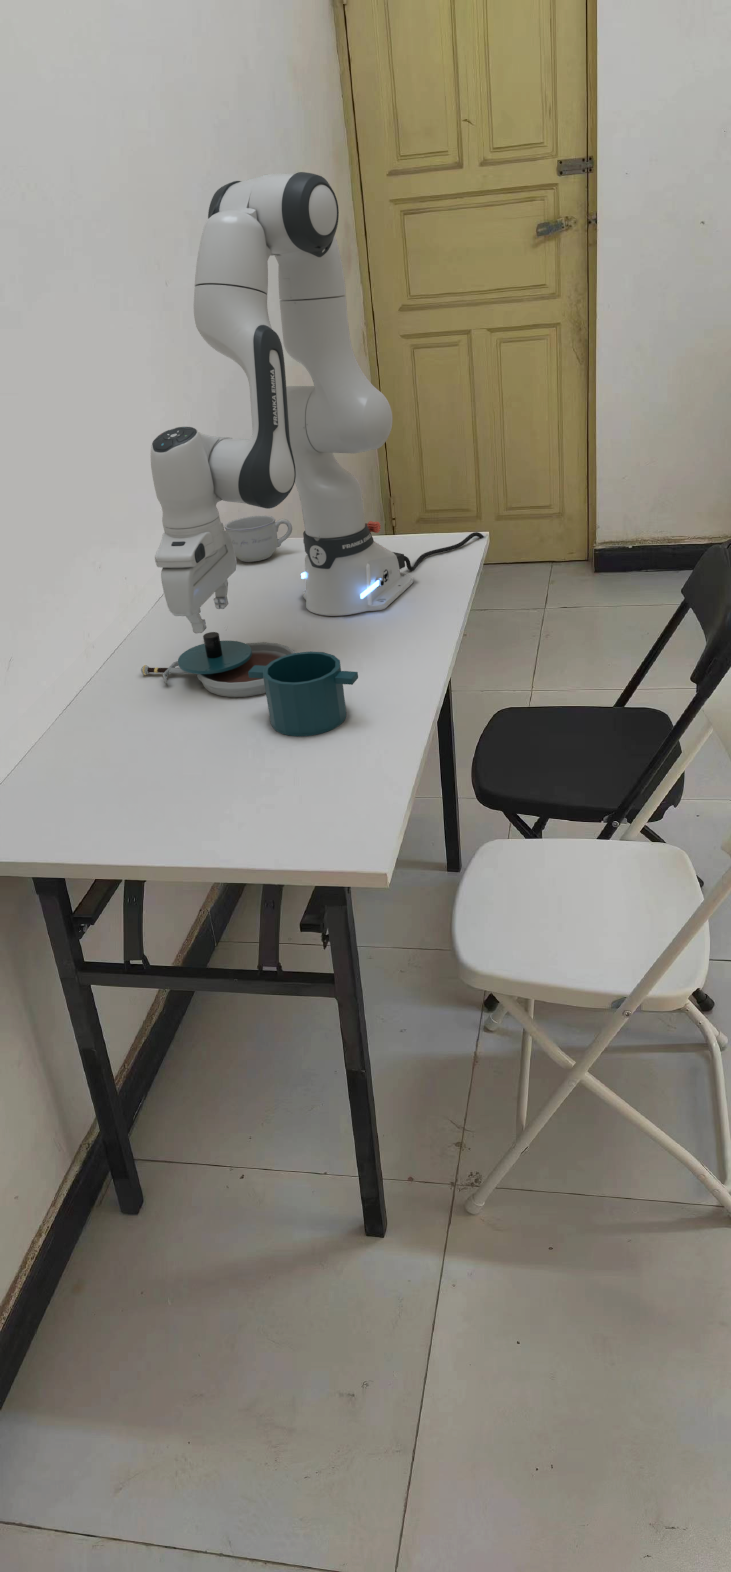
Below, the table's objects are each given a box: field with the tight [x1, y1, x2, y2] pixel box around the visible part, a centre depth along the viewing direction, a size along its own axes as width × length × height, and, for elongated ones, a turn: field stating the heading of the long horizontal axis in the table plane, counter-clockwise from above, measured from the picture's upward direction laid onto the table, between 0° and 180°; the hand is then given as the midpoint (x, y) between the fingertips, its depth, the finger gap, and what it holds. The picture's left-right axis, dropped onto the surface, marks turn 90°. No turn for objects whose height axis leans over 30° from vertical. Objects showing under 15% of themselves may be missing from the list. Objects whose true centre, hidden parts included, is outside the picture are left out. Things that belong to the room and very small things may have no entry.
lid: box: [177, 631, 252, 675], centre depth 183 cm, size 12×12×5 cm
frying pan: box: [140, 641, 296, 698], centre depth 185 cm, size 17×3×28 cm
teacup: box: [224, 515, 293, 563], centre depth 235 cm, size 14×11×8 cm
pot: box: [248, 650, 359, 737], centre depth 166 cm, size 11×17×8 cm
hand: (211, 619), depth 181 cm, fingers open, 8 cm apart
